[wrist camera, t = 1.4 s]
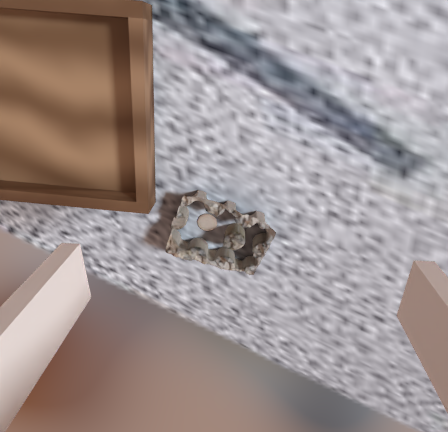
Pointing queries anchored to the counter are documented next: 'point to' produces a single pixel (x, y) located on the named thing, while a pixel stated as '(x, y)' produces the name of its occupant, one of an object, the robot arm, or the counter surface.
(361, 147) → the counter surface
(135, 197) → the box
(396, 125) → the counter surface
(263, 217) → the egg carton
